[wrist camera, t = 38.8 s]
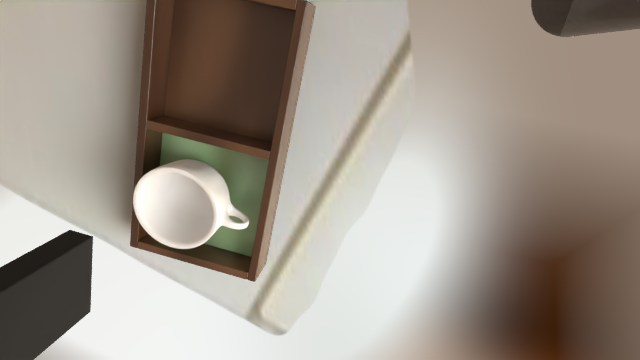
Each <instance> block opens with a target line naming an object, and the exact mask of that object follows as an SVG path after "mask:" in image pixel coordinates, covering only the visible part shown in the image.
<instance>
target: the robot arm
mask: <svg viewBox="0 0 640 360" xmlns="http://www.w3.org/2000/svg"><path fill="white" fill-rule="evenodd" d="M92 244H93V236H89V235H85V234H82V233H79V232H75V231H72V230H69V231H67V232H65V233H63V234H61V235H60V236H58V237H56V238H54V239H52V240H50V241H48V242H47V243H45V244H43V245H41V246H39V247H37V248H35V249H34V250H32V251H30V252H28V253H26V254H24V255H22V256H21V257H19V258H17V259H15V260H13V261H11V262H10V263H8V264H6V265H4V266H2V267H0V360H34V359H35V358H36V357H37V356H38V355H40V354H41V353H42V352H43V351H44V350H45V349H47V348H48V347H49V346H50V345H51V344H53V343H54V342H55V341H56V340H57V339H58V338H59V337H61V336H62V335H63V334H64V333H66V332H67V331H68V330H69V329H70V328H71V327H73V326H74V325H75V324H76V323H77V322H78V321H79V320H81V319H82V318H83V317H84V316H85V315H87V314H88V313H89V312H90V305H91V275H92Z"/></svg>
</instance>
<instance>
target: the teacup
mask: <svg viewBox="0 0 640 360" xmlns="http://www.w3.org/2000/svg"><path fill="white" fill-rule="evenodd" d="M133 205H134V210H135V214H136V216H137V219H138V221H139V222H140V224H141V226H142V227H143V228H144V229H145V231H146V232H147V233H148V234H149V235H150V236H152V237H153V238H154V239H155V240H157V241H159V242H160V243H162V244H164V245H167V246H169V247H173V248H178V249H189V248H194V247H197V246H200V245H202V244H203V243H205V242H206V241H207V240H208V239H209V238H210V237H211V236H212V235H213V234H214V233H215V232H216V230H217V229H218V228H219V227H220V226H226V227H229V228H232V229H244V228H246V227H247V226H248V224H249V219H248V218H247V216H246V215H244V214H243V213H242V212H241V211H239V210H238V209H237V208H236V207H234V206H233V205H232V204H231V202H230V196H229V190H228V187H227V184H226V182H225V180H224V179H223V177H222V176H221V175H220V173H219V172H218V171H217V170H216V169H214V168H213V167H212V166H210V165H208V164H206V163H204V162H201V161H197V160H192V159H184V160H178V161H175V162H171V163H168V164H165V165H163V166H160V167H157V168H155V169H153V170H151V171H150V172H148V173H146V174H145V175H144V176H143V177H142V178H141V179H140V180H139V182H138V183H137V185H136V187H135V190H134V195H133ZM229 216H235V217H238V218H240V219H241V220H242V221H243V223H236V222H234V221H232V220H231V219H230V217H229Z"/></svg>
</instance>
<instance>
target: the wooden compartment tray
mask: <svg viewBox="0 0 640 360" xmlns="http://www.w3.org/2000/svg"><path fill="white" fill-rule="evenodd" d="M314 12H315V6H313V5H312V4H310V3H309V2H307V1H304V0H147V5H146V20H145V34H144V49H143V64H142V78H141V93H140V108H139V122H138V137H137V152H136V166H135V181H134V190H135V187H136V185H137V183H138V182H139V180H140V179H141V178H142V177H143V176H144V175H145V174H146V173H148V172H150V171H151V170H153V169H155V168H157V167H160V166H163V165H165V164H168V163H171V162H175V161H178V160H184V159H192V160H197V161H201V162H204V163H206V164H208V165H210V166H212V167H213V168H214V169H216V170H217V171H218V172H219V173H220V175H221V176H222V177H223V179H224V180H225V182H226V184H227V187H228V190H229V196H230V202H231V204H232V205H233V206H234V207H236V208H237V209H238V210H239V211H241V212H242V213H243V214H244V215H246V216H247V218H248V219H249V224H248V226H247V227H246V228H244V229H232V228H229V227H226V226H220V227H219V228H218V229H217V230H216V232H215V233H214V234H213V235H212V236H211V237H210V238H209V239H208V240H207V241H206V242H205V243H203V244H202V245H200V246H197V247H194V248H189V249H178V248H173V247H169V246H167V245H164V244H162V243H160V242H159V241H157V240H155V239H154V238H153V237H152V236H150V235H149V234H148V233H147V232H146V231H145V229H144V228H143V227H142V226H141V224H140V222H139V221H138V219H137V216H136V214H135V210H134V205H133V211H132V225H131V240H130V246H132V247H135V248H139V249H143V250H146V251H150V252H153V253H157V254H160V255H163V256H167V257H170V258H174V259H177V260H181V261H184V262H188V263H191V264H195V265H198V266H202V267H205V268H209V269H212V270H216V271H219V272H222V273H226V274H229V275H233V276H236V277H240V278H243V279H248V280H250V281H254V282H255V281H256V279H257V277H258V276H259V274H260V272H261V271H262V269H263V268H264V266H265V264H266V260H267V255H268V250H269V245H270V240H271V234H272V229H273V224H274V219H275V214H276V209H277V203H278V198H279V193H280V188H281V183H282V178H283V172H284V167H285V162H286V157H287V152H288V147H289V141H290V136H291V131H292V126H293V121H294V116H295V110H296V105H297V100H298V95H299V90H300V85H301V79H302V74H303V69H304V64H305V59H306V54H307V49H308V43H309V38H310V33H311V28H312V23H313V18H314ZM229 217H230V219H231V220H232V221H234V222H236V223H243V221H242V220H241V219H240V218H238V217H235V216H229Z"/></svg>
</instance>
